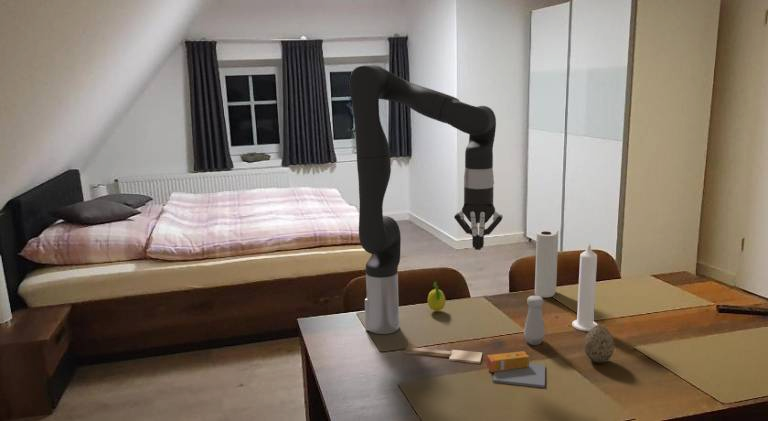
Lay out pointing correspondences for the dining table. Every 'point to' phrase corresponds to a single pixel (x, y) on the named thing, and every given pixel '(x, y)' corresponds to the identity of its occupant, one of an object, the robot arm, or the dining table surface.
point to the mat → (522, 376)
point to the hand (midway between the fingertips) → (478, 249)
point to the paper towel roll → (546, 263)
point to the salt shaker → (534, 321)
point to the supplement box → (507, 361)
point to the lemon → (436, 299)
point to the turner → (449, 354)
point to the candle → (586, 291)
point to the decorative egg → (599, 344)
